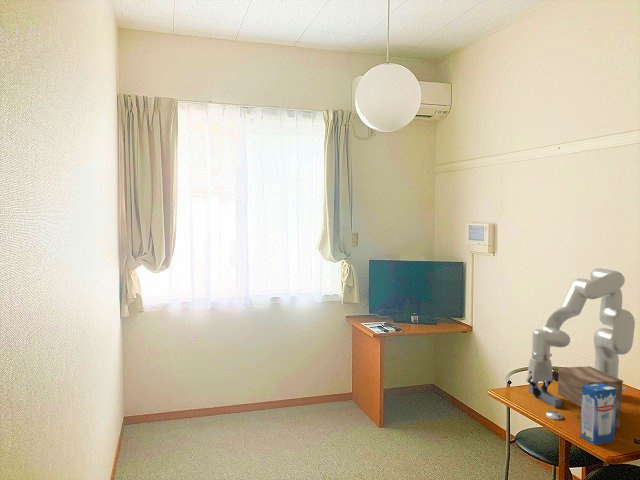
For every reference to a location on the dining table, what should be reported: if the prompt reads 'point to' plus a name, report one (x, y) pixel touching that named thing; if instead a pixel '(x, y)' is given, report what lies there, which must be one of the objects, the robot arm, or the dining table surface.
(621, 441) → the dining table surface
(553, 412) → the steel token
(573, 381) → the cabinet
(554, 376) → the hand tool
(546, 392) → the gray rectangular bar
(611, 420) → the milk carton
